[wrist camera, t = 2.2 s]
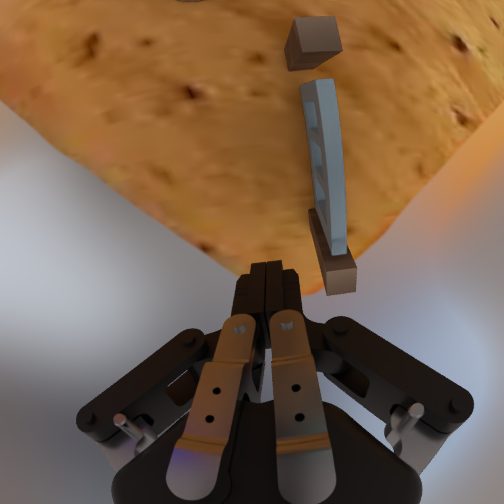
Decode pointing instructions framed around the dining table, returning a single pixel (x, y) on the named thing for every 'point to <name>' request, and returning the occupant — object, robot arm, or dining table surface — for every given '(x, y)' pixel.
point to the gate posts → (303, 58)
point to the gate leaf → (326, 160)
